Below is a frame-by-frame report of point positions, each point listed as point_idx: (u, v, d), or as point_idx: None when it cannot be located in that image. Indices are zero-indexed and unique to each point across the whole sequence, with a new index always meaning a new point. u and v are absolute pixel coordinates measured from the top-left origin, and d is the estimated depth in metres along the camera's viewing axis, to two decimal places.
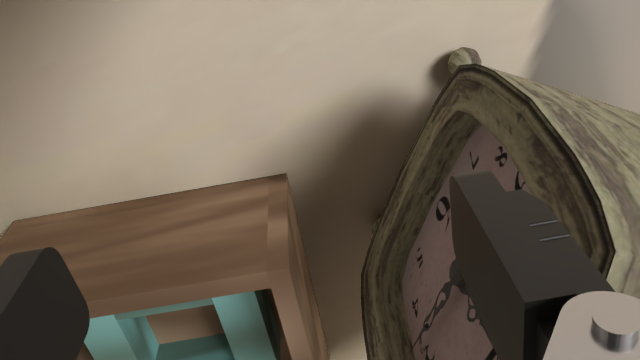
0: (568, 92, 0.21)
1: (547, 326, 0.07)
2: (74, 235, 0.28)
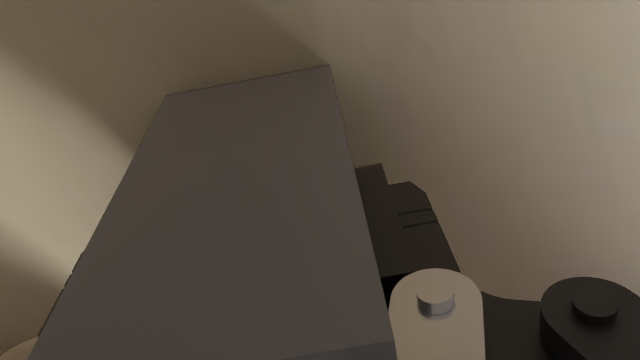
0: None
1: None
2: None
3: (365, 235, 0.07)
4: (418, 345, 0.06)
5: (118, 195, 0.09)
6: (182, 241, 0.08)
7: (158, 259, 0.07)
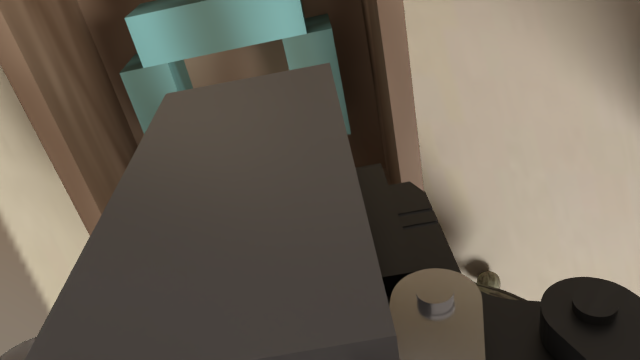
0: None
1: None
2: None
3: (366, 232, 0.07)
4: (418, 345, 0.06)
5: (118, 192, 0.09)
6: (183, 238, 0.08)
7: (158, 256, 0.07)
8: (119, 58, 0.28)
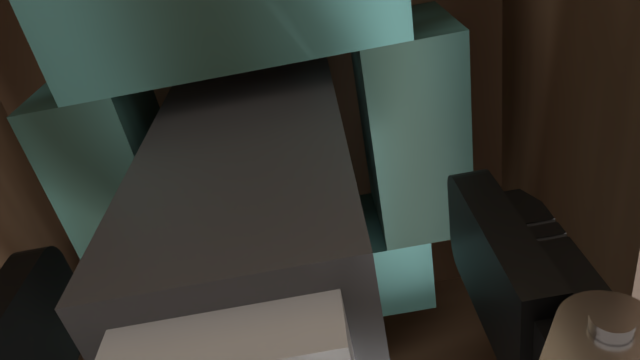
0: None
1: (544, 325, 0.07)
2: None
3: (352, 180, 0.08)
4: None
5: (139, 158, 0.10)
6: (196, 190, 0.09)
7: (175, 204, 0.09)
8: (25, 80, 0.14)
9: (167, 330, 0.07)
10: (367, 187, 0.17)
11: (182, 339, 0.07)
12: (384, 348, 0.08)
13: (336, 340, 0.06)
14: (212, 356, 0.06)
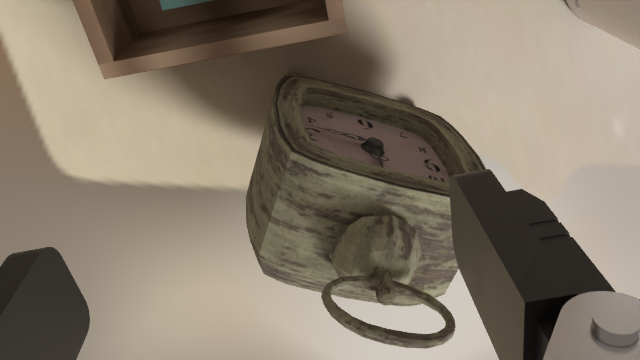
0: None
1: (547, 326, 0.07)
2: None
3: None
4: None
5: None
6: None
7: None
8: None
9: None
10: None
11: None
12: None
13: None
14: None
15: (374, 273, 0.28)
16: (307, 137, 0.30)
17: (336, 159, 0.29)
